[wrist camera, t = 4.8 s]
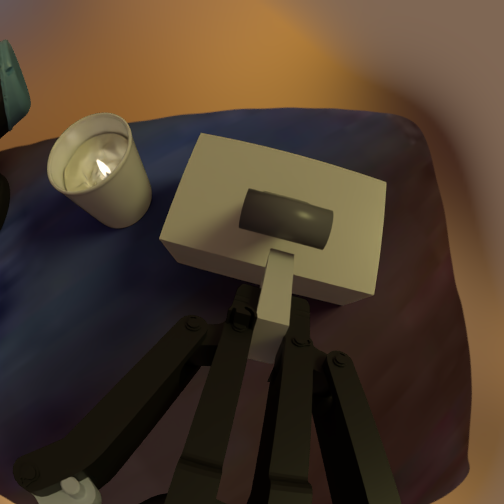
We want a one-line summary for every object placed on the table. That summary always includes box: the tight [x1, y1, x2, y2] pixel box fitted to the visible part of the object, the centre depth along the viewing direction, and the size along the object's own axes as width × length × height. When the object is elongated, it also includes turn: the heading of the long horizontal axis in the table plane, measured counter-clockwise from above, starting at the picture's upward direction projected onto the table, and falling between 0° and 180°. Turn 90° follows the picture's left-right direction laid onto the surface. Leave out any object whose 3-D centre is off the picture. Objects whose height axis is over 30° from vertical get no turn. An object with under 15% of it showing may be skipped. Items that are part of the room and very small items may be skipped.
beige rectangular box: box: [159, 133, 386, 306], centre depth 32 cm, size 20×12×9 cm, turn 75°
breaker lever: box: [239, 188, 333, 250], centre depth 22 cm, size 5×2×11 cm, turn 75°
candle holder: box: [47, 113, 152, 228], centre depth 31 cm, size 10×10×12 cm
